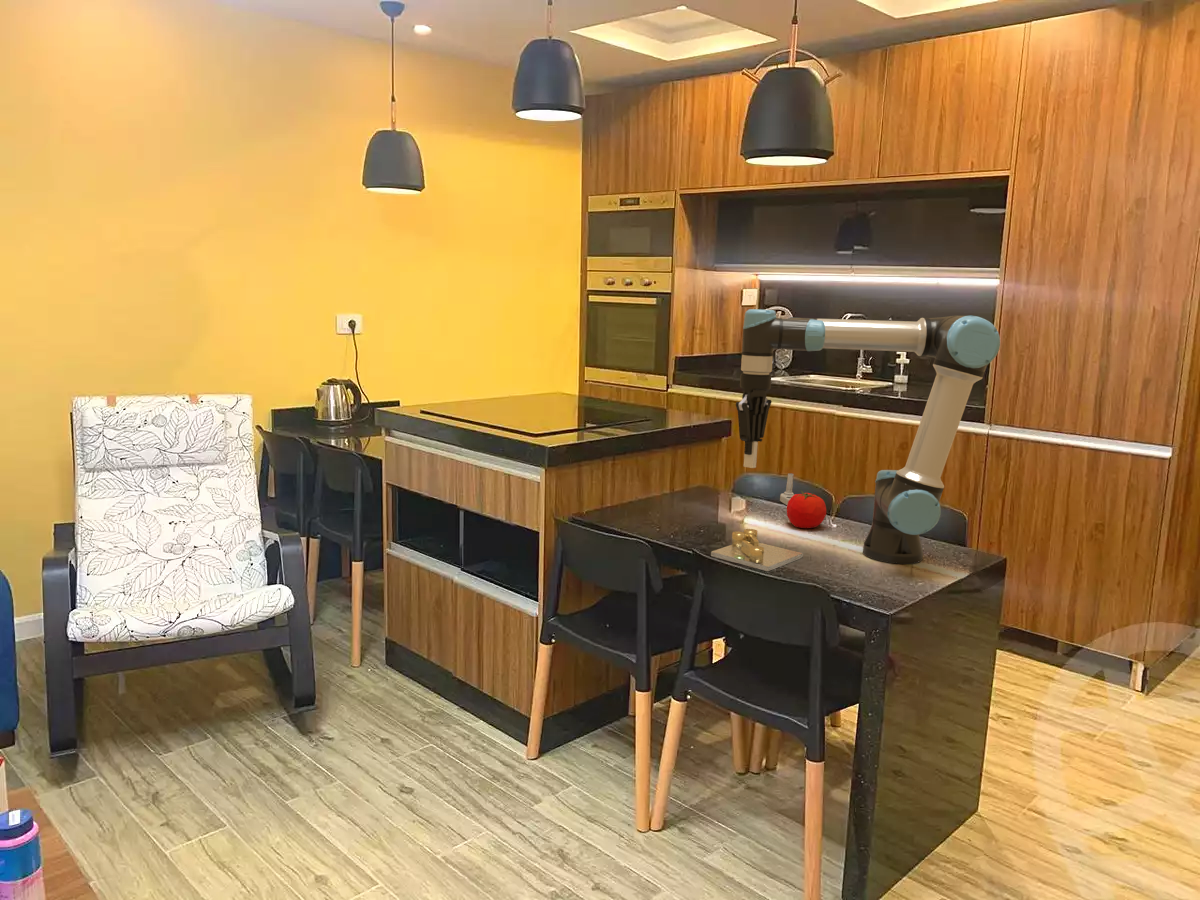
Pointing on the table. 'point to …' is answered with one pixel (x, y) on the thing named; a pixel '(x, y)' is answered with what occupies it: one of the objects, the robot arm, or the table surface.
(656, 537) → the table surface
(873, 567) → the table surface
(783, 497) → the grey post stand
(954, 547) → the table surface
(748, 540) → the gold block
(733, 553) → the plate
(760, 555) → the gold piece
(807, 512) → the tomato
